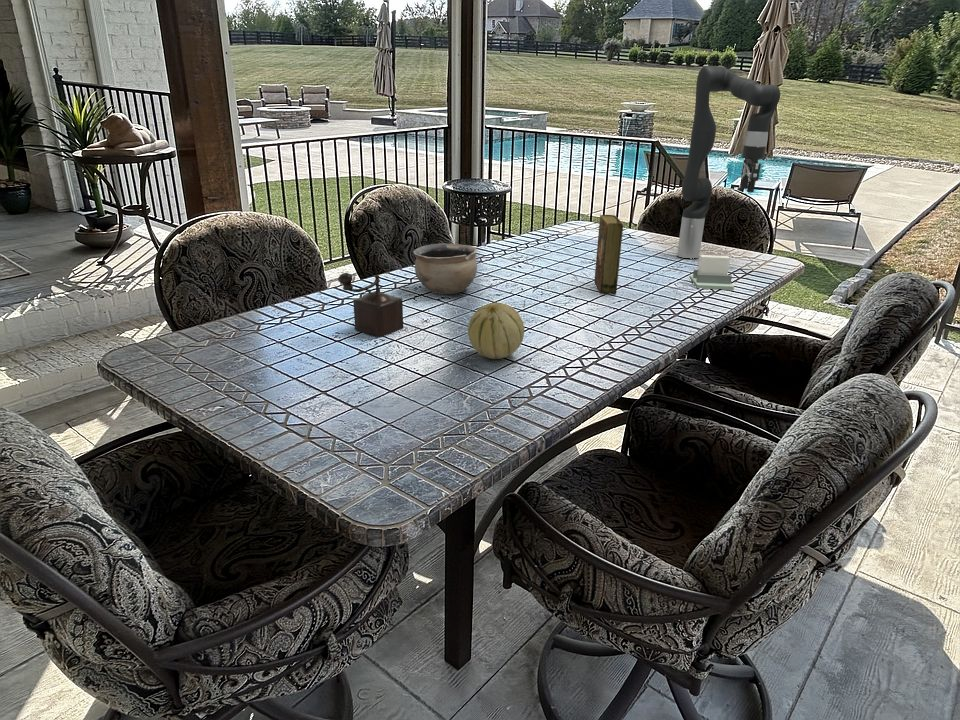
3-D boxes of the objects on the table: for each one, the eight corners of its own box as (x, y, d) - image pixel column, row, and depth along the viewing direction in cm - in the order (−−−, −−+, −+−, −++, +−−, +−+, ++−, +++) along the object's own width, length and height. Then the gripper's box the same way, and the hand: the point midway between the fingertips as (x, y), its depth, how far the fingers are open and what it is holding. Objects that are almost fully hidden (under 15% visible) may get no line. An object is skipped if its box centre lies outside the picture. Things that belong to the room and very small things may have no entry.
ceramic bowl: (469, 303, 212) (469, 258, 206) (406, 298, 216) (404, 254, 210) (482, 285, 232) (482, 244, 226) (424, 280, 236) (423, 240, 230)
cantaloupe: (520, 346, 176) (522, 294, 171) (525, 367, 163) (528, 311, 157) (467, 346, 176) (467, 293, 170) (467, 367, 162) (468, 311, 157)
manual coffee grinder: (377, 320, 194) (374, 262, 187) (404, 328, 188) (402, 268, 181) (339, 334, 183) (334, 273, 176) (366, 343, 177) (363, 280, 170)
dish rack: (689, 278, 244) (690, 267, 243) (723, 280, 243) (725, 268, 241) (696, 288, 231) (698, 276, 230) (733, 290, 230) (735, 278, 229)
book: (593, 282, 237) (599, 214, 228) (608, 282, 237) (614, 214, 228) (600, 295, 222) (607, 223, 213) (616, 295, 222) (623, 223, 212)
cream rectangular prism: (696, 278, 239) (700, 255, 235) (724, 279, 238) (728, 256, 234) (698, 280, 236) (701, 257, 232) (726, 282, 235) (730, 258, 232)
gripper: (739, 142, 237) (731, 187, 244) (749, 146, 224) (741, 193, 231) (760, 143, 237) (752, 188, 243) (772, 146, 224) (762, 194, 230)
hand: (746, 190), depth 237 cm, fingers open, 8 cm apart
